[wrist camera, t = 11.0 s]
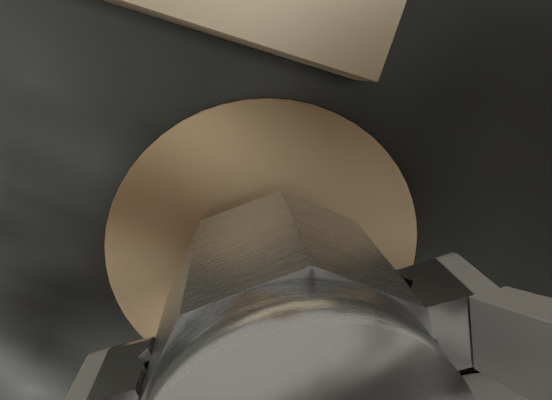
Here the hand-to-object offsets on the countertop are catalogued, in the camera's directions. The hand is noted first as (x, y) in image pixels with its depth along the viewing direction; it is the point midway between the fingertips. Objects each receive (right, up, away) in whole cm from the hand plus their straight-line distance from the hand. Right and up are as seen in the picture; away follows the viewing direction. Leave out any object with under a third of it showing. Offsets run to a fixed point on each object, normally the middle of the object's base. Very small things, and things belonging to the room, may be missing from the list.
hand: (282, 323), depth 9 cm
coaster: (-1, +1, +4) cm, 4 cm away
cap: (0, 0, +2) cm, 2 cm away
